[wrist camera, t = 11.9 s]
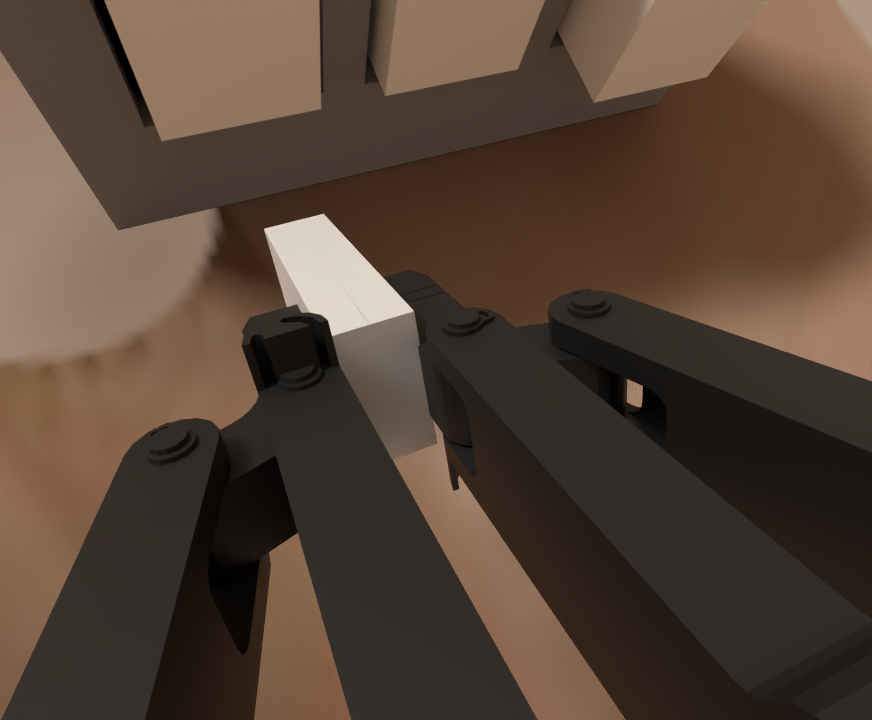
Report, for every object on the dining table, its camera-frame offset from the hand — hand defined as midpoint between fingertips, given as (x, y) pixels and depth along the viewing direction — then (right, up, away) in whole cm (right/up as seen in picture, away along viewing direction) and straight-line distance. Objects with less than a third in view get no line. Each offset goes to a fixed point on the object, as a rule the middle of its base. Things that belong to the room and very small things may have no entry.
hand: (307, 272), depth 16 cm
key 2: (+11, +10, +8) cm, 17 cm away
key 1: (-4, +7, +5) cm, 10 cm away
